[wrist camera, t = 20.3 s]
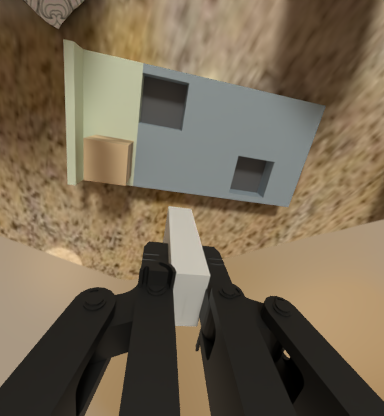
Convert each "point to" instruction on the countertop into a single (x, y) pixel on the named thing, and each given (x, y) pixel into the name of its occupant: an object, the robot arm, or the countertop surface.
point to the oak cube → (107, 159)
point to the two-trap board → (187, 128)
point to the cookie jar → (54, 9)
